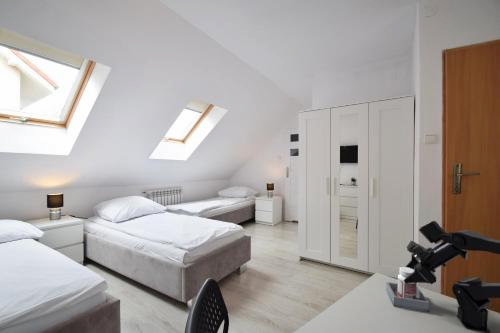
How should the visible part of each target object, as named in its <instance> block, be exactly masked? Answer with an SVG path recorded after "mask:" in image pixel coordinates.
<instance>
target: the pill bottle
mask: <svg viewBox="0 0 500 333" xmlns="http://www.w3.org/2000/svg"><path fill="white" fill-rule="evenodd" d="M412 272H414V270H413V269H411V268H408V267H405V266H400V267H399V271H398V273H399V274H398V275H397V284H398V289H397V295H398V297H403V298H409V299H415V300H416V289H417V287H418V286H417V284H418V283H405V282H404V279H405V278H406V277H408V276H409V275H410V274H411V273H412Z"/></svg>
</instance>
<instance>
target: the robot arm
mask: <svg viewBox="0 0 500 333" xmlns="http://www.w3.org/2000/svg"><path fill="white" fill-rule="evenodd" d="M418 232H419V233H421V235H422V236H423V237H424V238H425V239H426V240H427V241H428V242H429V243H430V244H435V245H436V246H434V247H433V248H432V247H430V246H429V247H428V248H425V247H424V246H422V245H420V244H419V243H417V242H416V241H413V240H410V241H409V243H408V245H406V248H407V249H406V250H407V251H408V252H409V253H411V259H410V260H409V262H408V263H407V264H406V265H405V266H404V267H408V268H411V269H413V270H414V272H412V273H411V274H410V275H409V276H408V277H406V278H405V279H404V282H405V283H417V284H419V283H420V284H430V285H432V284H435V283H436V282H437V276H436V272H437V271H436V269H438V268H440V267H444V268H445V267H446V266H447V263H449V262H450V261H452V260H454V259H456V258H457V257H459V256H460V257H461V258H463V259H464V260H468V254H469V251H471V252H472V251H473V252H475V251H477V252H478V251H479V252H487V253H492V254H495V255H496V254H497V255H500V239H494V238H490V237H487V236H486V235H483V234H481V233H479V232H475V231H473V230H469V229H463V230H459V231H454V232H453V231H449V232H446V230H444V229H443V228H442V227H441V226H440V224H439V223H438V222H437V221H436V220H433V221H430V222H429V223H427V224H424V225H423V226H421V227H420V228H419V229H418ZM451 291H452V293H453V295H454V296H455V299H456V302H457V305H458V306H457V314H455V317H456V318H457V320H458V321H460V323H461V324H462V325H463V326H464V328H466V329H468V330H472V331H473V330H474V331H479V332H485V333H491V330H490V329H489V327H488V318H489V310H488V309H487V308H489V307H490V306H491V304H492V301H491V300H490V299H500V282H491V283H490V282H485V281H482V279H481V277H480V276H478V277H464V278H462V279H460V280H457V283H454V284H452V288H451Z"/></svg>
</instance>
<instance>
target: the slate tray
mask: <svg viewBox="0 0 500 333" xmlns="http://www.w3.org/2000/svg"><path fill="white" fill-rule="evenodd" d="M385 289H386V290H385V292H386V293H387V295H388V297H389V300H390V302H391V304H392V305H393V307H396V308H403V309H408V310H409V309H410V310H414V311H420V312H426V313H429V312H430V302H429V301H428V299H427V297H426V296H425V295H424V293H423V292H422V290H421V289H420V287H418V286H417V289H416V300H415V299H409V298H403V297H398V295H397V289H398V282H397V283H396V282H389V281H386V286H385Z"/></svg>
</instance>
